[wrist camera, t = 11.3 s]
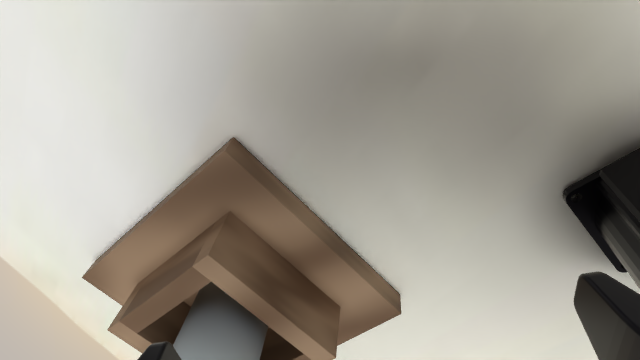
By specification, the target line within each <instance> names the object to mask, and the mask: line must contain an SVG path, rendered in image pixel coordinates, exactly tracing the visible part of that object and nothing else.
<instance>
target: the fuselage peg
mask: <svg viewBox="0 0 640 360" xmlns="http://www.w3.org/2000/svg"><path fill="white" fill-rule="evenodd" d="M267 330H268V325H266V324H265V323H264V322H262V321H261V320H260V319H259V318H257V317H256V316H255V315H253V314H252V313H251V312H250V311H248V310H247V309H246V308H245V307H243V306H242V305H241V304H239V303H238V302H237V301H236V300H234V299H233V298H232V297H230V296H229V295H228V294H227V293H225V292H224V291H223V290H222V289H220V288H219V287H218V286H216V285H215V284H214V283H213V282H210V283H209V284H207V285H206V286H204V287H203V288H201V289H200V290H199V292H198V294H197V296H196V298H195V300H194V302H193V304H192V306H191V309H190V311H189V313H188V315H187V317H186V319H185V321H184V323H183V325H182V328H181V330H180V332H179V334H178V336H177V338H176V340H175V342H174V344H173V347H174V349H175V350H176V352H177V353H178V355H179V356H180V358H181V359H182V360H260V356H261V352H262V349H263V345H264V341H265V337H266V333H267Z"/></svg>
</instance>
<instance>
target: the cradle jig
mask: <svg viewBox="0 0 640 360" xmlns="http://www.w3.org/2000/svg"><path fill="white" fill-rule="evenodd" d="M82 278H83V279H85V280H86V281H88V282H89V283H91V284H92V285H93V286H95V287H96V288H98V289H99V290H101V291H102V292H103V293H105V294H106V295H108V296H109V297H111V298H112V299H113V300H115V301H116V302H118V303H119V304H121V305H122V306H123V307H122V308H121V310H120V311H119V313H118V314H117V316H116V317H115V319H114V320H113V322H112V324H111V325H110V327H109V328H108V331H110V332H111V333H113V334H114V335H116V336H117V337H119V338H120V339H122V340H123V341H125V342H126V343H128V344H129V345H131V346H132V347H134V348H135V349H137V350H138V351H140V352H141V353H143V352H144V351H145V350H146V349H147V347H148V346H150V345H151V344H153V343H158V342H164V341H168V342H170V343H171V344H172V345H173V344H174V342H175V340H176V338H177V336H178V334H179V332H180V330H181V328H182V325H183V323H184V321H185V319H186V317H187V315H188V313H189V311H190V309H191V306H192V304H193V302H194V300H195V298H196V296H197V294H198V292H199V290H200V289H201V288H203V287H204V286H206V285H207V284H209V283H210V282H213V283H214V284H215V285H216V286H218V287H219V288H220V289H222V290H223V291H224V292H225V293H227V294H228V295H229V296H230V297H232V298H233V299H234V300H236V301H237V302H238V303H239V304H241V305H242V306H243V307H245V308H246V309H247V310H248V311H250V312H251V313H252V314H253V315H255V316H256V317H257V318H259V319H260V320H261V321H262V322H264V323H265V324H266V325H268V330H267V333H266V337H265V341H264V345H263V349H262V352H261V356H260V360H333V359H335V358H336V351H337V346H338V345H340V344H342V343H344V342H346V341H348V340H350V339H352V338H354V337H356V336H358V335H360V334H362V333H364V332H366V331H368V330H370V329H372V328H374V327H376V326H378V325H380V324H382V323H384V322H386V321H388V320H390V319H392V318H394V317H396V316H398V315H400V314H401V301H400V294H399V293H398V292H397V291H396V290H394V289H393V288H392V287H391V286H390V285H389V284H388V283H387V282H386V281H385V280H384V279H383V278H382V277H381V276H380V275H379V274H378V273H376V272H375V271H374V270H373V269H372V268H371V267H370V266H369V265H368V264H367V263H366V262H365V261H364V260H363V259H362V258H361V257H360V256H359V255H357V254H356V253H355V252H354V251H353V250H352V249H351V248H350V247H349V246H348V245H347V244H346V243H345V242H344V241H343V240H342V239H341V238H339V237H338V236H337V235H336V234H335V233H334V232H333V231H332V230H331V229H330V228H329V227H328V226H327V225H326V224H325V223H324V222H323V221H322V220H320V219H319V218H318V217H317V216H316V215H315V214H314V213H313V212H312V211H311V210H310V209H309V208H308V207H307V206H306V205H305V204H304V203H302V202H301V201H300V200H299V199H298V198H297V197H296V196H295V195H294V194H293V193H292V192H291V191H290V190H289V189H288V188H287V187H286V186H285V185H283V184H282V183H281V182H280V181H279V180H278V179H277V178H276V177H275V176H274V175H273V174H272V173H271V172H270V171H269V170H268V169H267V168H265V167H264V166H263V165H262V164H261V163H260V162H259V161H258V160H257V159H256V158H255V157H254V156H253V155H252V154H251V153H250V152H249V151H248V150H246V149H245V148H244V147H243V146H242V145H241V144H240V143H239V142H238V141H237V140H236V139H235V138H234V137H233V138H232V139H231V140H230V141H229V142H227V143H226V144H225V145H224V146H223V147H222V148H221V149H220V150H218V151H217V152H216V153H215V154H214V155H213V156H212V157H211V158H210V159H208V160H207V161H206V162H205V163H204V164H203V165H202V166H201V167H200V168H198V169H197V170H196V171H195V172H194V173H193V174H192V175H191V176H190V177H188V178H187V179H186V180H185V181H184V182H183V183H182V184H181V185H180V186H178V187H177V188H176V189H175V190H174V191H173V192H172V193H171V194H169V195H168V196H167V197H166V198H165V199H164V200H163V201H162V202H161V203H159V204H158V205H157V206H156V207H155V208H154V209H153V210H152V211H151V212H149V213H148V214H147V215H146V216H145V217H144V218H143V219H142V220H141V221H139V222H138V223H137V224H136V225H135V226H134V227H133V228H132V229H131V230H129V231H128V232H127V233H126V234H125V235H124V236H123V237H122V238H120V239H119V240H118V241H117V242H116V243H115V244H114V245H113V246H112V247H110V248H109V249H108V250H107V251H106V252H105V253H104V254H103V255H102V256H100V257H99V258H98V259H97V260H96V261H95V262H94V263H93V265H92V266H91V267H90V268H89V269H88V271H87V272H86V273H85V274H84V275H83V277H82Z"/></svg>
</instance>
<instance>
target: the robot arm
mask: <svg viewBox="0 0 640 360" xmlns="http://www.w3.org/2000/svg"><path fill="white" fill-rule="evenodd" d="M574 194H578V196H577V197H574V198H571V197H572V196H573V195H574ZM563 198H564V200H565V202H566V203H567V204H568V206H569V207H570V208H571V210H572V211H573V212H574V214H575V215H576V216H577V218H578V219H579V220H580V222H581V223H582V224H583V226H584V227H585V228H586V230H587V231H588V232H589V234H590V235H591V236H592V238H593V239H594V240H595V242H596V243H597V244H598V246H599V247H600V248H601V249H602V251H603V252H604V253H605V255H606V256H607V257H608V259H609V260H610V261H611V263H612V264H613V265H614V267H615V268H616V269H617V270H618V271H619V272H628V273H629V275H630V276H631V277H632V279H633V280H634V282H635V283H636V284H637V286H638V287H639V288H640V148H639V149H638V150H636V151H634V152H632V153H630V154H628V155H627V156H625V157H623V158H621V159H619V160H617V161H616V162H614V163H612V164H610V165H608V166H606V167H604V168H603V169H601V170H599V171H597V172H595V173H593V174H592V175H590V176H588V177H586V178H584V179H582V180H581V181H579V182H577V183H575V184H573V185H571V186H570V187H568V188H567V189H565V191H564V192H563ZM574 306H575V309H576V312H577V314H578V316H579V318H580V320H581V322H582V324H583V327H584V329H585V331H586V333H587V335H588V337H589V339H590V342H591V344H592V346H593V348H594V350H595V352H596V354H597V357H598V359H599V360H640V294H638V293H637V292H635V291H633V290H632V289H630V288H628V287H627V286H625V285H623V284H622V283H620V282H618V281H617V280H615V279H613V278H612V277H610V276H608V275H607V274H605V273H602V272H592V273H585V274H581V275H580V276H579V278H578V282H577V286H576V291H575V296H574ZM138 360H182V359H181V358H180V356H179V355H178V353H177V352H176V350H175V349H174V347H173V345H172V344H171V343H170V342H168V341H164V342H158V343H153V344H151V345H150V346H148V347H147V349H146V350H145V351H144V352H143V354H142V355H141V356H140V357H139V359H138Z"/></svg>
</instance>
